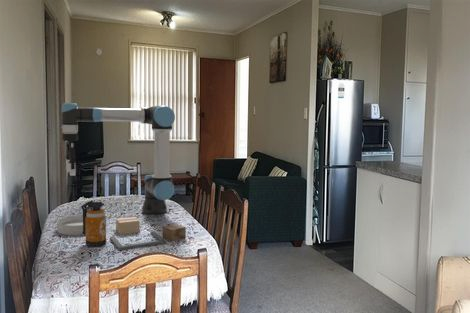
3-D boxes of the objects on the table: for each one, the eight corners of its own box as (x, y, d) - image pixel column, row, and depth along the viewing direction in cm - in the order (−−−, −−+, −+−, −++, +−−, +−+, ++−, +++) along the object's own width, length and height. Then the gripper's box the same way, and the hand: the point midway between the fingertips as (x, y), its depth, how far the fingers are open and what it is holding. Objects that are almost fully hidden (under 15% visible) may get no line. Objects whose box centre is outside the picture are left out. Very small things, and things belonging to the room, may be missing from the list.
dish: (75, 238, 194) (75, 228, 194) (47, 230, 206) (47, 220, 205) (111, 227, 213) (111, 218, 212) (84, 221, 224) (84, 212, 224)
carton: (135, 228, 213) (135, 216, 212) (139, 232, 206) (139, 220, 206) (115, 230, 208) (115, 218, 208) (119, 234, 201) (119, 222, 201)
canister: (99, 247, 180) (99, 203, 178) (77, 245, 183) (76, 202, 180) (109, 241, 189) (109, 199, 187) (88, 239, 191) (87, 198, 189)
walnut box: (176, 235, 202) (176, 223, 201) (185, 239, 196) (185, 227, 196) (162, 238, 196) (162, 226, 196) (172, 242, 191) (172, 230, 190)
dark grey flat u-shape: (154, 233, 204) (154, 230, 204) (166, 243, 188) (166, 241, 188) (109, 238, 193) (109, 236, 193) (118, 250, 178) (118, 247, 177)
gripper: (59, 131, 217) (60, 170, 220) (65, 134, 196) (66, 177, 198) (74, 131, 221) (75, 170, 223) (81, 134, 199) (82, 176, 202)
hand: (71, 173), depth 211 cm, fingers open, 13 cm apart
